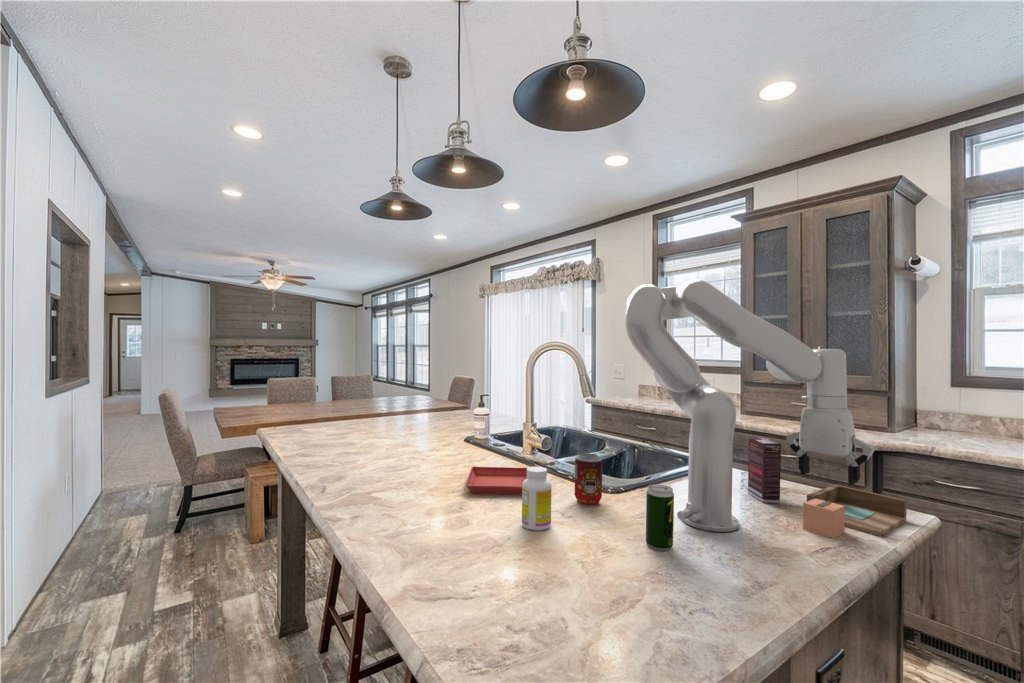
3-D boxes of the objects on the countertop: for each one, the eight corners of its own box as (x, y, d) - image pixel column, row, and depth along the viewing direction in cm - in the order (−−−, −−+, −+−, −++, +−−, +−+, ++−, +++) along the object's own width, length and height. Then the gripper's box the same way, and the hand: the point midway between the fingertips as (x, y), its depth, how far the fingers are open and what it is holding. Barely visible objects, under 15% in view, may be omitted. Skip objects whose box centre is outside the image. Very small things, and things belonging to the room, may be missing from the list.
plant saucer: (531, 498, 125) (531, 485, 125) (464, 496, 125) (464, 484, 125) (529, 478, 143) (529, 467, 143) (471, 477, 143) (471, 466, 143)
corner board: (880, 536, 102) (881, 514, 102) (806, 515, 114) (806, 494, 114) (906, 520, 112) (906, 500, 112) (835, 502, 124) (835, 484, 124)
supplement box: (781, 503, 123) (782, 443, 123) (762, 503, 123) (763, 443, 123) (764, 493, 131) (765, 437, 131) (746, 492, 131) (747, 436, 131)
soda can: (579, 507, 117) (580, 459, 117) (571, 498, 124) (571, 452, 124) (605, 506, 118) (606, 458, 118) (596, 497, 125) (597, 452, 125)
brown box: (833, 538, 101) (833, 510, 101) (803, 529, 106) (803, 502, 106) (844, 532, 104) (844, 505, 104) (814, 523, 109) (815, 497, 109)
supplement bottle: (555, 523, 106) (556, 467, 106) (544, 533, 100) (545, 474, 100) (528, 518, 109) (529, 463, 109) (516, 528, 103) (517, 470, 103)
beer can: (645, 549, 93) (646, 490, 94) (645, 539, 99) (646, 482, 99) (673, 553, 92) (674, 493, 92) (672, 542, 97) (673, 485, 97)
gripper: (779, 400, 110) (780, 472, 110) (866, 408, 96) (867, 491, 96) (793, 398, 114) (795, 467, 114) (879, 405, 100) (880, 484, 100)
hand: (828, 478), depth 105 cm, fingers open, 9 cm apart
